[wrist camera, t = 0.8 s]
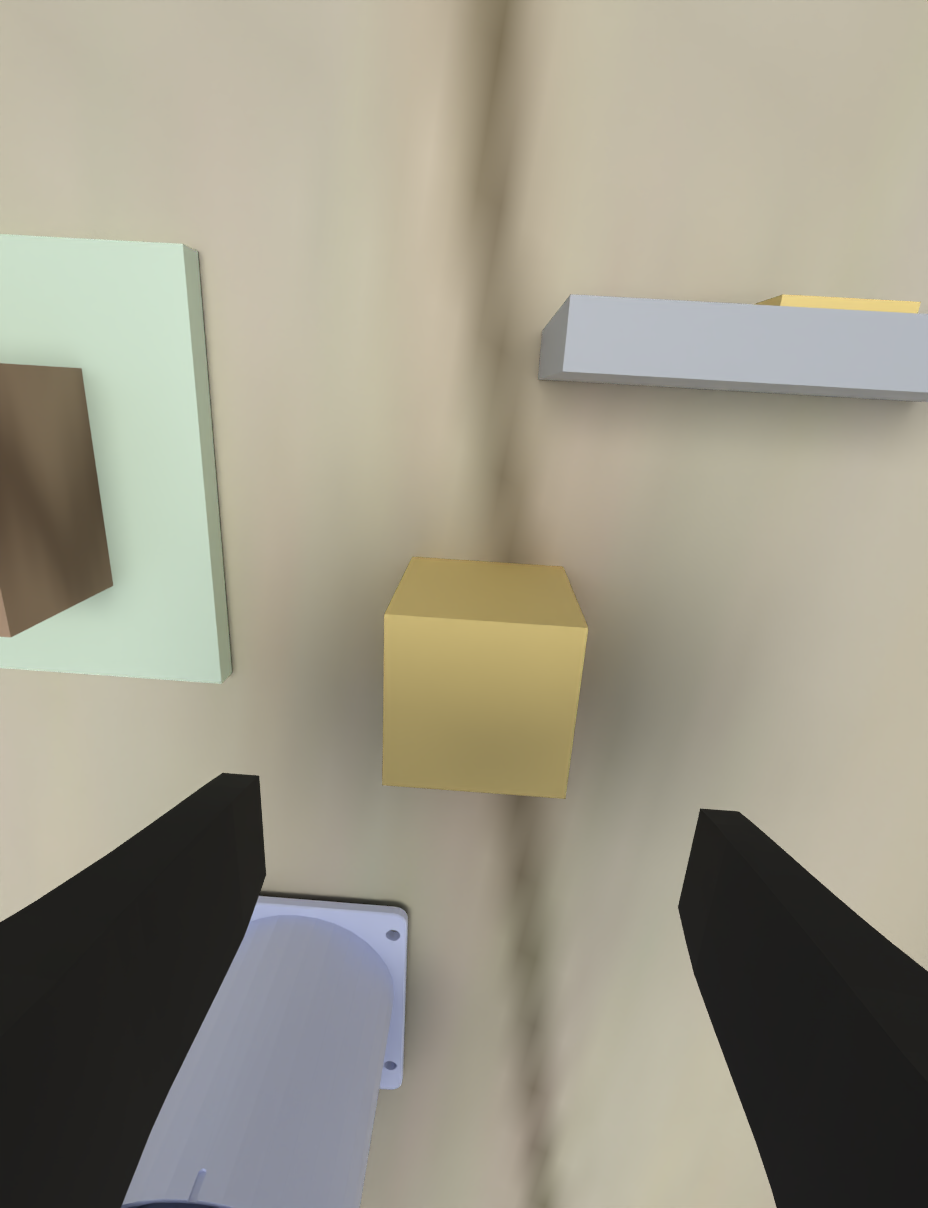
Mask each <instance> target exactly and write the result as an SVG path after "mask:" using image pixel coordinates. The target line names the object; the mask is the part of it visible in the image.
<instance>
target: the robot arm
mask: <svg viewBox="0 0 928 1208" xmlns="http://www.w3.org/2000/svg"><path fill="white" fill-rule="evenodd" d="M265 876H266V867H265V853H264V839H263V824H262V810H261V796H260V781H259V776H256V775H242V774H229V773H222V774H221V775H219V776H217V777H216V778H214V779H213V780H211V781H210V782H209V783H207V784H206V785H204V786H203V787H201V788H200V789H199V790H197V791H196V792H194V793H193V794H192V795H190V796H189V797H188V798H186V799H185V800H183V801H182V802H181V803H179V804H178V805H176V806H175V807H174V808H172V809H171V810H170V811H168V812H167V813H165V814H164V815H163V816H161V817H160V818H159V819H157V820H156V821H154V822H153V823H151V824H150V825H149V826H147V827H146V828H144V829H143V830H141V831H140V832H139V833H137V834H136V835H134V836H133V837H132V838H130V839H129V840H127V841H126V842H124V843H123V844H122V845H120V846H119V847H117V848H116V849H115V850H113V851H112V852H110V853H109V854H107V855H106V856H104V857H103V858H101V859H100V860H98V861H97V862H95V863H93V864H92V865H90V866H89V867H87V868H86V869H84V870H83V871H81V872H80V873H78V874H77V875H75V876H74V877H72V878H70V879H69V880H67V881H66V882H64V883H63V884H61V885H60V886H58V887H57V888H55V889H54V890H52V891H50V892H49V893H47V894H46V895H44V896H43V897H41V898H40V899H38V900H37V901H35V902H33V903H32V904H30V905H28V906H27V907H25V908H24V909H22V910H20V911H19V912H17V913H15V914H14V915H12V916H10V917H9V918H7V919H5V920H3V921H2V922H0V1208H360V1204H361V1198H362V1192H363V1186H364V1179H365V1173H366V1167H367V1161H368V1155H369V1149H370V1143H371V1136H372V1130H373V1124H374V1118H375V1112H376V1106H377V1100H378V1093H379V1089H396V1088H398V1087H399V1086H400V1085H401V1084H402V1079H403V1063H404V1031H405V1000H406V969H407V937H408V915H407V913H406V912H405V911H404V910H403V909H401V908H399V907H393V906H380V905H368V904H355V903H342V902H330V901H317V900H305V899H292V898H280V897H267V896H259V894H260V891H261V888H262V885H263V882H264V879H265ZM678 909H679V913H680V918H681V922H682V926H683V931H684V935H685V940H686V944H687V948H688V952H689V956H690V960H691V963H692V967H693V971H694V975H695V978H696V980H697V983H698V986H699V989H700V992H701V995H702V997H703V1000H704V1003H705V1006H706V1008H707V1011H708V1014H709V1017H710V1019H711V1022H712V1025H713V1028H714V1030H715V1033H716V1036H717V1038H718V1041H719V1044H720V1047H721V1049H722V1052H723V1055H724V1057H725V1060H726V1063H727V1065H728V1068H729V1071H730V1074H731V1076H732V1079H733V1082H734V1084H735V1087H736V1090H737V1092H738V1095H739V1098H740V1101H741V1103H742V1106H743V1109H744V1111H745V1114H746V1117H747V1119H748V1122H749V1125H750V1128H751V1130H752V1133H753V1136H754V1138H755V1141H756V1144H757V1147H758V1150H759V1153H760V1156H761V1159H762V1162H763V1165H764V1168H765V1171H766V1174H767V1177H768V1180H769V1183H770V1186H771V1189H772V1193H773V1196H774V1200H775V1203H776V1207H777V1208H928V971H927V970H925V969H924V968H923V967H921V966H920V965H919V964H918V963H916V962H915V961H914V960H913V959H911V958H910V957H909V956H908V955H906V954H905V953H904V952H902V951H901V950H900V949H899V948H897V947H896V946H895V945H894V944H892V943H891V942H890V941H889V940H888V939H886V938H885V937H884V936H883V935H881V934H880V933H879V932H878V931H877V930H875V929H874V928H873V927H872V926H871V925H869V924H868V923H867V922H866V921H865V920H863V919H862V918H861V917H860V916H859V915H857V914H856V913H855V912H854V911H853V910H852V909H850V908H849V907H848V906H847V905H846V904H845V903H843V902H842V901H841V900H840V899H839V898H838V897H836V896H835V895H834V894H833V893H832V892H831V891H829V890H828V889H827V888H826V887H825V886H824V885H823V884H821V883H820V882H819V881H818V880H817V879H816V878H815V877H813V876H812V875H811V874H810V873H809V872H808V871H807V870H806V869H804V868H803V867H802V866H801V865H800V864H799V863H798V862H797V861H795V860H794V859H793V858H792V857H791V856H790V855H789V854H787V853H786V852H785V851H784V850H783V849H782V848H781V847H780V846H778V845H777V844H776V843H775V842H774V841H773V840H772V839H770V838H769V837H768V836H767V835H766V834H765V833H764V832H763V831H761V830H760V829H759V828H758V827H757V826H756V825H754V824H753V823H752V822H751V821H750V820H748V819H747V818H746V817H745V816H743V815H742V814H741V813H740V812H737V811H724V810H711V809H700V812H699V817H698V821H697V826H696V830H695V835H694V839H693V843H692V848H691V852H690V857H689V861H688V865H687V870H686V874H685V879H684V883H683V888H682V892H681V896H680V901H679V905H678ZM391 930H395V931H397V932H394V931H391Z"/></svg>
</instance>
